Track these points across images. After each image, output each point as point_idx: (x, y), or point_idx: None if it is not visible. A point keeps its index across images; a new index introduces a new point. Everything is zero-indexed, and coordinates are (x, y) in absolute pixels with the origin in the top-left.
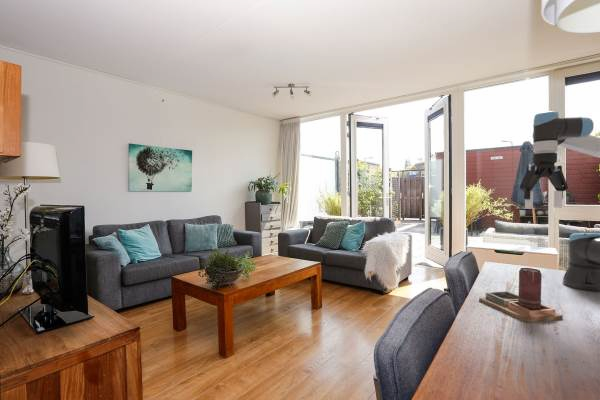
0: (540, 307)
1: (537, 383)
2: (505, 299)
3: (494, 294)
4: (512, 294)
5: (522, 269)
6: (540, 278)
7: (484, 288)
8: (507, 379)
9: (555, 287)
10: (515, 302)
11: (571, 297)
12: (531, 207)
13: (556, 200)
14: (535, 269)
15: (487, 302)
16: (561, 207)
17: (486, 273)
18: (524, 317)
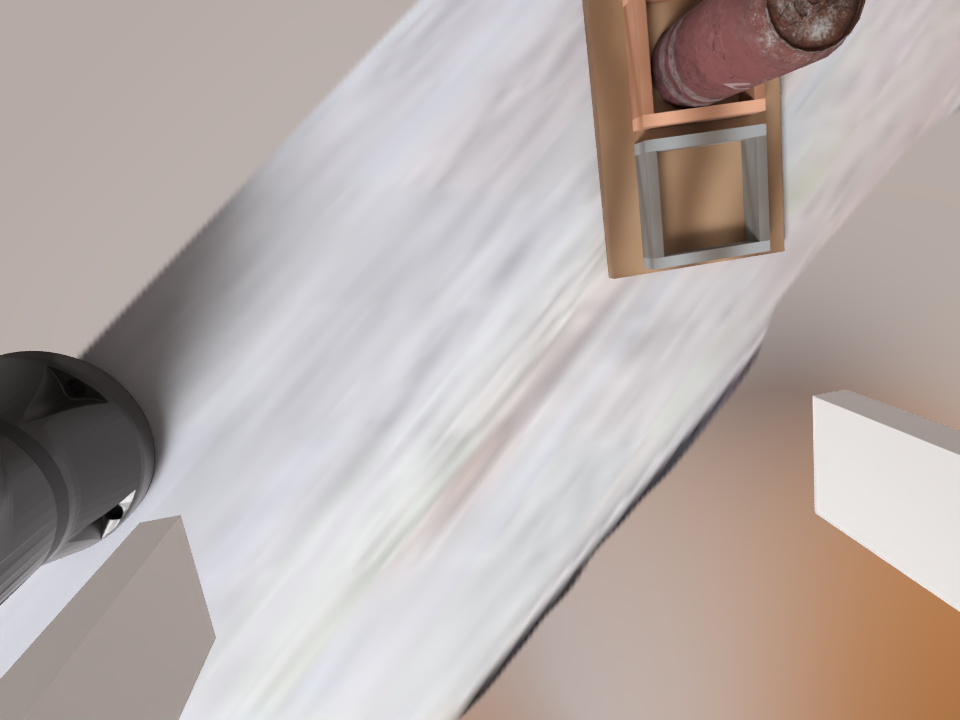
0: (674, 23)
1: None
2: (683, 219)
3: (725, 246)
4: (660, 219)
5: (832, 34)
6: None
7: (630, 424)
8: None
9: (244, 433)
10: (734, 103)
11: (292, 274)
12: (849, 394)
13: (140, 696)
14: (766, 10)
15: (779, 199)
16: (149, 521)
17: (445, 676)
18: None
